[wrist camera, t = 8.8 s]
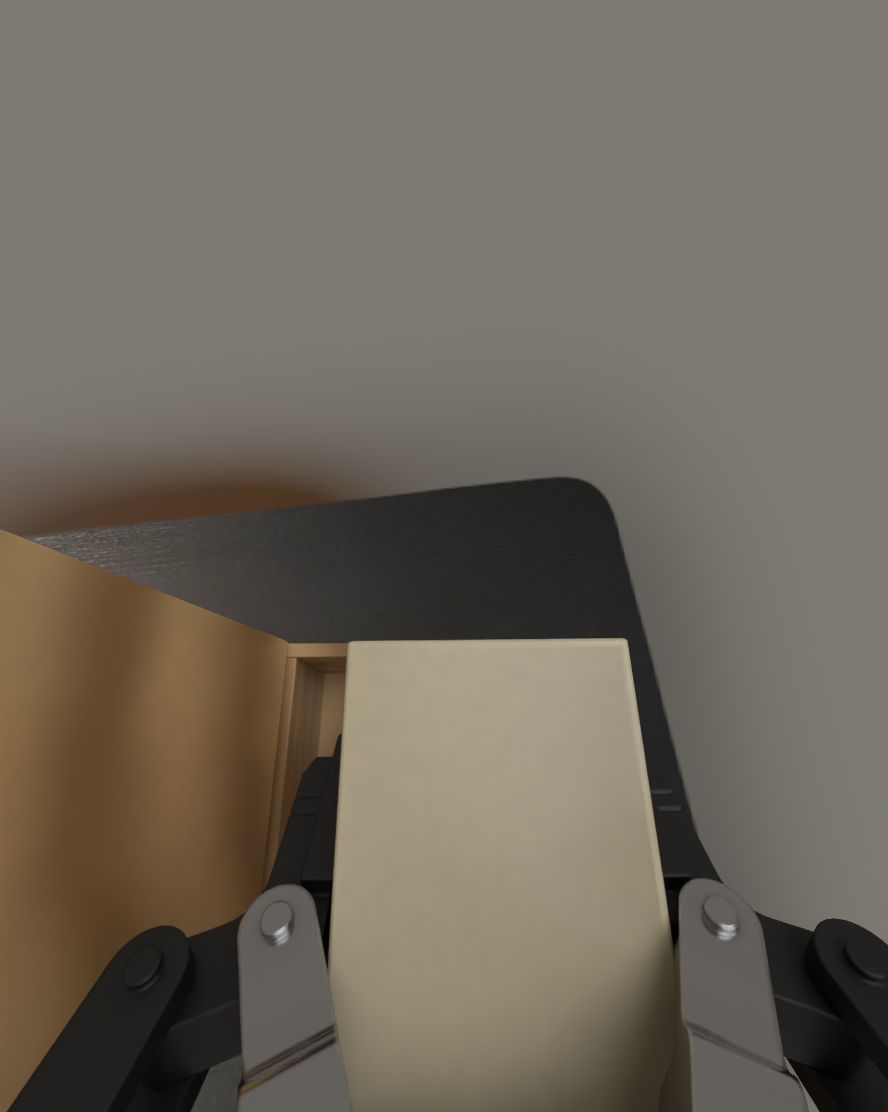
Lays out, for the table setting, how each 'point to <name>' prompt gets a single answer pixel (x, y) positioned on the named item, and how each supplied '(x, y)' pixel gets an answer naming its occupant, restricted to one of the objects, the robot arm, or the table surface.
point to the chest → (304, 728)
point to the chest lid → (118, 780)
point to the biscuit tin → (498, 881)
